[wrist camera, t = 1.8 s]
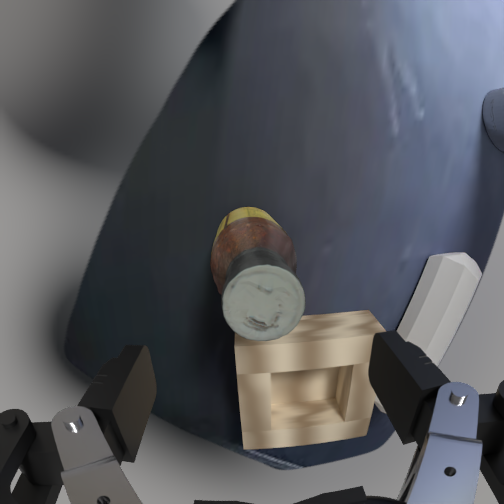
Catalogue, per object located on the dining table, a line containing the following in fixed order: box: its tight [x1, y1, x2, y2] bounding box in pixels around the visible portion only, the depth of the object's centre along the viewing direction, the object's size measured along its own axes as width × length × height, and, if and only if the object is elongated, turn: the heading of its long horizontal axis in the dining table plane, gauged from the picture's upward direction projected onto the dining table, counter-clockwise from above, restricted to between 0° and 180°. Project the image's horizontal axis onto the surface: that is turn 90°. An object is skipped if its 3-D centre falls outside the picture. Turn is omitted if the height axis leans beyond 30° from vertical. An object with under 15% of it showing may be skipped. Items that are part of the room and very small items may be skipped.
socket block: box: [234, 310, 386, 449], centre depth 36 cm, size 16×16×6 cm
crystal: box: [374, 252, 482, 414], centre depth 36 cm, size 7×7×24 cm
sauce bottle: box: [210, 207, 305, 341], centre depth 24 cm, size 6×6×20 cm
